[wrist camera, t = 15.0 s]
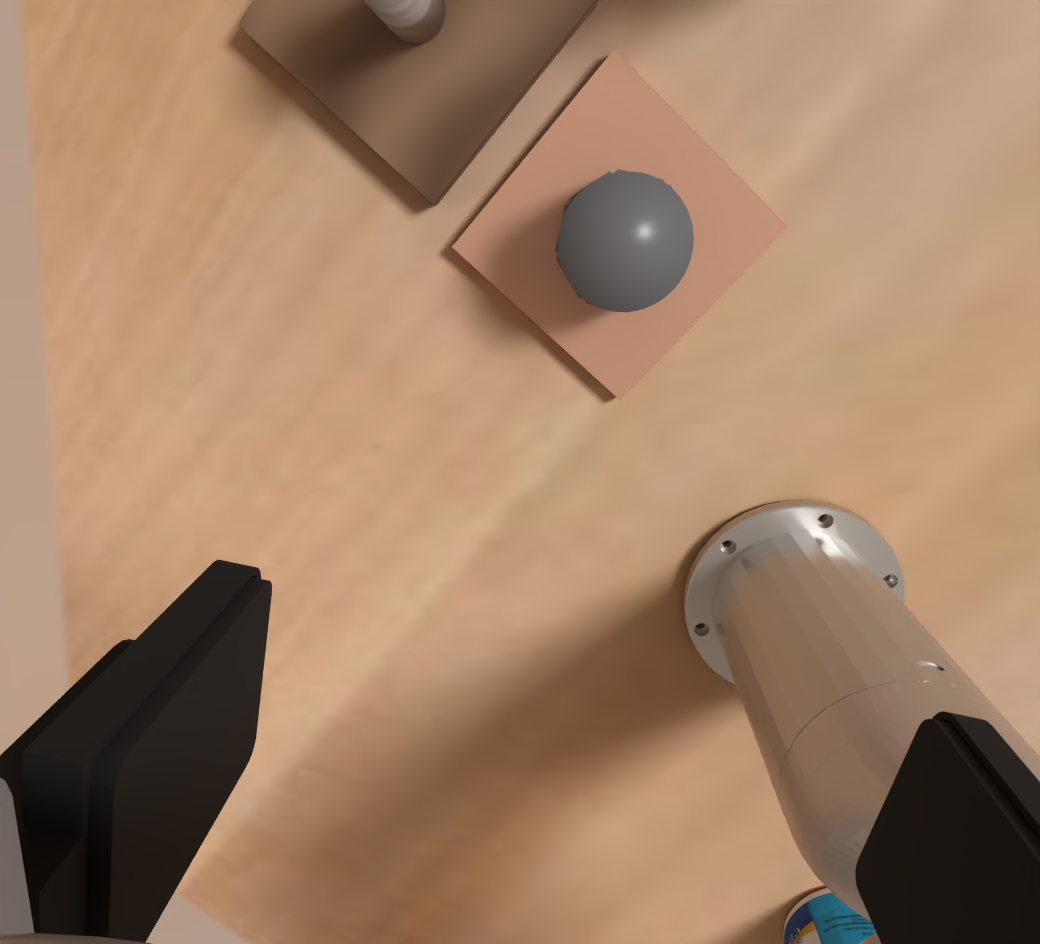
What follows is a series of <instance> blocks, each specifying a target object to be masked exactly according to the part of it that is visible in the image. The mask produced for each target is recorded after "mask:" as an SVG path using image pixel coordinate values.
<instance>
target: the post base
mask: <svg viewBox="0 0 1040 944" xmlns="http://www.w3.org/2000/svg"><path fill="white" fill-rule="evenodd" d="M597 2H598V0H254V1H253V3H252V4H251V6H250V8H249V9H248V11H247V12H246V14H245V15H244V17H243V18H242V20H241V21H240V23H239V24H238V26H239V27H240V28H241V29H243V30H244V31H245V32H246V33H247V34H248V35H249V36H250V37H251V38H252V39H253V40H255V41H256V42H257V43H258V44H259V45H260V46H261V47H262V48H263V49H264V50H265V51H267V52H268V53H269V54H270V55H271V56H272V57H273V58H274V59H275V60H276V61H277V62H278V63H280V64H281V65H282V66H283V67H284V68H285V69H286V70H287V71H288V72H289V73H290V74H292V75H293V76H294V77H295V78H296V79H297V80H298V81H299V82H300V83H301V84H302V85H304V86H305V87H306V88H307V89H308V90H309V91H310V92H311V93H312V94H313V95H314V96H316V97H317V98H318V99H319V100H320V101H321V102H322V103H323V104H324V105H325V106H326V107H327V108H329V109H330V110H331V111H332V112H333V113H334V114H335V115H336V116H337V117H338V118H339V119H341V120H342V121H343V122H344V123H345V124H346V125H347V126H348V127H349V128H350V129H351V130H353V131H354V132H355V133H356V134H357V135H358V136H359V137H360V138H361V139H362V140H363V141H364V142H366V143H367V144H368V145H369V146H370V147H371V148H372V149H373V150H374V151H375V152H376V153H378V154H379V155H380V156H381V157H382V158H383V159H384V160H385V161H386V162H387V163H388V164H390V165H391V166H392V167H393V168H394V169H395V170H396V171H397V172H398V173H399V174H400V175H402V176H403V177H404V178H405V179H406V180H407V181H408V182H409V183H410V184H411V185H412V186H413V187H415V188H416V189H417V190H418V191H419V192H420V193H421V194H422V195H423V196H424V197H425V198H427V199H428V200H429V201H430V202H431V203H432V204H436V205H437V204H438V203H439V202H440V201H441V199H442V198H443V197H444V196H445V194H446V193H447V192H448V191H449V189H450V188H451V187H452V186H453V184H454V183H455V182H456V181H457V179H458V178H459V177H460V176H461V174H462V173H463V172H464V171H465V169H466V168H467V167H468V166H469V164H470V163H471V162H472V161H473V159H474V158H475V157H476V156H477V154H478V153H479V152H480V151H481V149H482V148H483V147H484V146H485V144H486V143H487V142H488V141H489V139H490V138H491V137H492V136H493V134H494V133H495V132H496V131H497V129H498V128H499V127H500V126H501V124H502V123H503V122H504V121H505V119H506V118H507V117H508V115H509V114H510V113H511V112H512V110H513V109H514V108H515V107H516V105H517V104H518V103H519V102H520V100H521V99H522V98H523V97H524V95H525V94H526V93H527V92H528V90H529V89H530V88H531V87H532V85H533V84H534V83H535V82H536V80H537V79H538V78H539V77H540V75H541V74H542V73H543V72H544V70H545V69H546V68H547V67H548V65H549V64H550V63H551V62H552V60H553V59H554V58H555V57H556V55H557V54H558V53H559V52H560V50H561V49H562V48H563V47H564V45H565V44H566V43H567V42H568V40H569V39H570V38H571V37H572V35H573V34H574V33H575V32H576V30H577V29H578V28H579V27H580V25H581V24H582V23H583V22H584V20H585V19H586V18H587V17H588V15H589V14H590V13H591V12H592V10H593V9H594V8H595V6H596V5H597Z"/></svg>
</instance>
